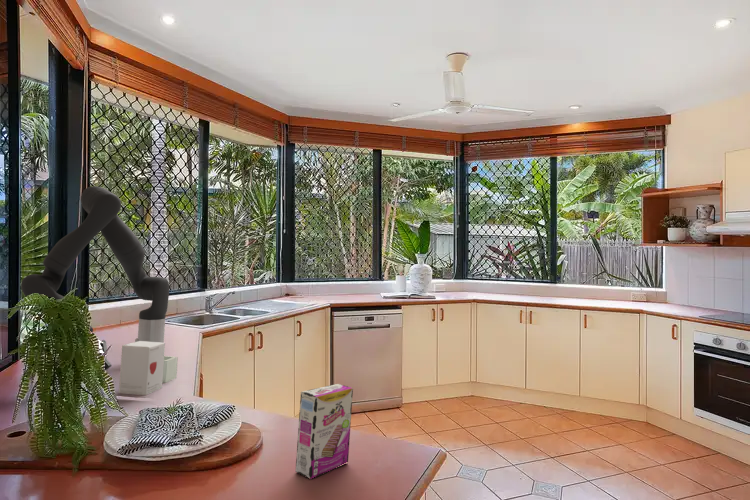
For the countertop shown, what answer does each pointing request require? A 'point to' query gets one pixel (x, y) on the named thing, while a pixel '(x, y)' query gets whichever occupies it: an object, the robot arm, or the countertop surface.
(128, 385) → the supplement box
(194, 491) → the countertop surface
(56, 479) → the countertop surface
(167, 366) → the stoneware open box
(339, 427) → the candy bar box
